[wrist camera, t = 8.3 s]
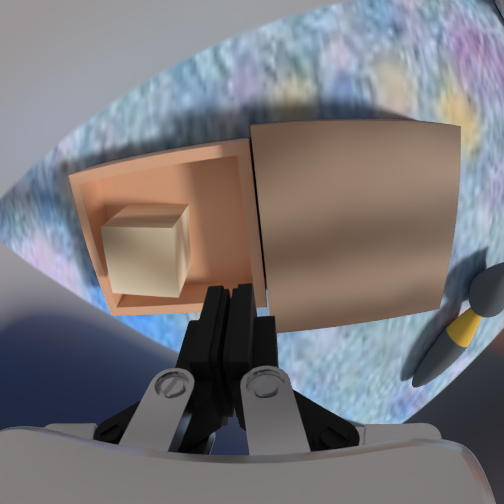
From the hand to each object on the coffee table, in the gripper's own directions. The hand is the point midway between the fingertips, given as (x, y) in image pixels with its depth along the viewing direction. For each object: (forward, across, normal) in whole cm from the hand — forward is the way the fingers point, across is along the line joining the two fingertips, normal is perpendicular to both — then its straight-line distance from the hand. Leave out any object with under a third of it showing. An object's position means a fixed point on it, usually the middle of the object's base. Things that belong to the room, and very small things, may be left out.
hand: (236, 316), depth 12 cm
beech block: (+10, +7, +1) cm, 12 cm away
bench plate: (+14, -8, +1) cm, 16 cm away
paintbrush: (+14, -23, +15) cm, 31 cm away
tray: (+13, +6, +1) cm, 15 cm away
